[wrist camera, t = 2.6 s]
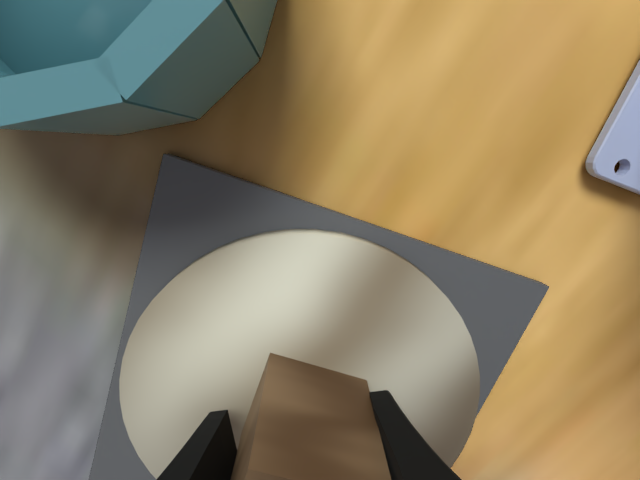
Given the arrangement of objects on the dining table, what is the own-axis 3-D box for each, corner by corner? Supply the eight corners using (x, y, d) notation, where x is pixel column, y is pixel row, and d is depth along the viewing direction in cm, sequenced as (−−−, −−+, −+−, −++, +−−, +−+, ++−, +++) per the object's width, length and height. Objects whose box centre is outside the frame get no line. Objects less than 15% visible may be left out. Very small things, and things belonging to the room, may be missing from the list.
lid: (530, 294, 12) (681, 395, 7) (393, 544, 15) (433, 734, 10) (174, 174, 11) (59, 198, 6) (102, 478, 14) (-14, 664, 9)
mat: (542, 282, 13) (549, 287, 12) (396, 544, 16) (398, 554, 16) (168, 153, 11) (163, 153, 11) (93, 475, 14) (87, 484, 14)
